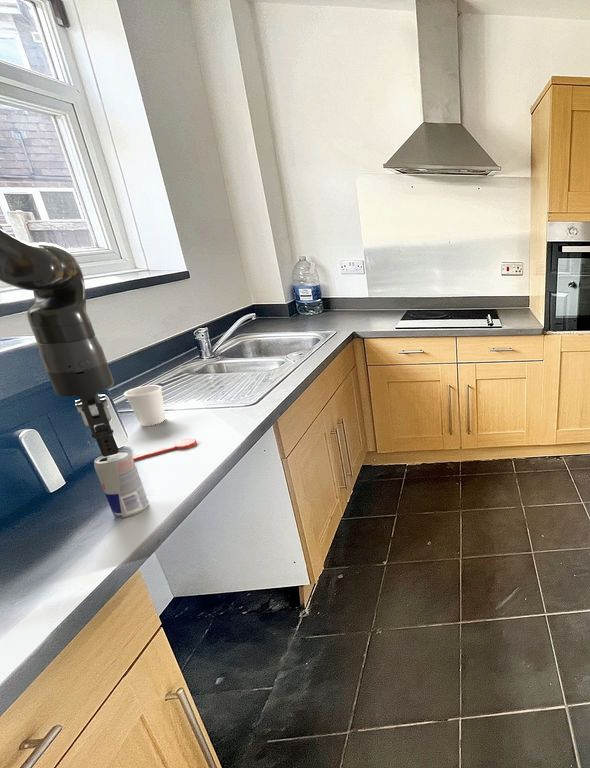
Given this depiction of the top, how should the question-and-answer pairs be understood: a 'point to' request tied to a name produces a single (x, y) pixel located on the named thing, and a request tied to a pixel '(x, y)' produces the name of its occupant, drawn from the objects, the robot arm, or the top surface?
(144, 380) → the top surface
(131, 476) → the energy drink
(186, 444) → the spoon
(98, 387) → the robot arm
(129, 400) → the dixie cup
